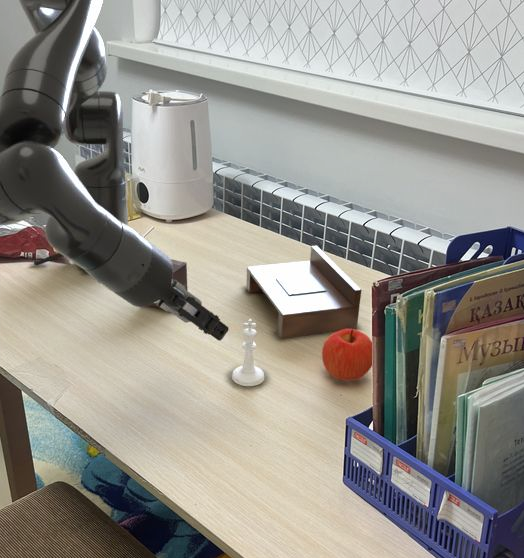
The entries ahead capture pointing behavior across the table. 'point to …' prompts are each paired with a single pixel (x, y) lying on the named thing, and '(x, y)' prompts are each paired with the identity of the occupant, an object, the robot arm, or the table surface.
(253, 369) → the chess piece
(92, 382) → the table surface
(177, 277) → the box
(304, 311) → the shelf
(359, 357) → the apple
